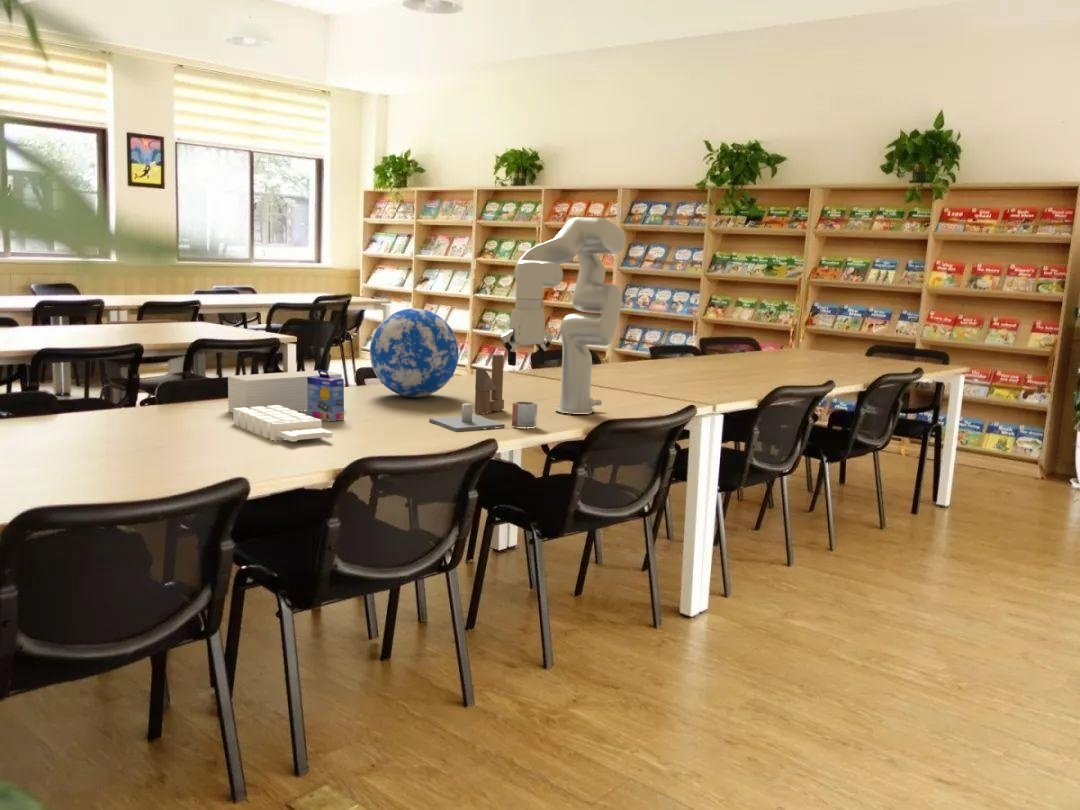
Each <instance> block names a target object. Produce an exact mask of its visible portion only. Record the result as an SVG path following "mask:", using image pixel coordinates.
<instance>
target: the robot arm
mask: <svg viewBox="0 0 1080 810" xmlns="http://www.w3.org/2000/svg"><path fill="white" fill-rule="evenodd" d="M625 245H626V236H625V233H624V231H623V229H622V228H621V227H620V226H619V225H617V224H615V223H614V222H612V221H610V220H608V219H606V218H603V217H596V216H595V217H593V216H591V217H590V216H576V217H572V218H570V219H569V220H568V221H567V222H566V223H565V224H564V225H563V227H562V228H561V229H560V230H559V231H558V233H556V235H555V236H554V238H552V239H550V240H547V241H545V242H543V243H541V244H537V245H536V246H534V247H531V248H530V249H528V250H527V251H526V252H524V254H523V255H522V256H521V257H520V258H519V260H518V261H517V263H516V265H515V267H514V271H513V276H514V280H515V283H516V284H515V286H516V287H515V304H514V305H515V308H514V309H512V311H511V314H510V319H509V324H508V325H509V327H508V331H507V332H505V333H503V334H502V335H500V340H501V342H502V345H503V347H504V348H505V350H506V351H507V366H508V365H509V366H511V367H512V366H514V367H515V366H516V365H517V352H516V349H518V347H519V346H534V345H535V346H536V348H537V350H536V352H535V353H536V354H535V355H536V357H535V363H536V365H540V366H543V365H545V360H546V359H545V356H546V351H547V350H548V348H549V347H550V345H551V343H552V341H553V338H554V336H553V335H552V334H551V333H549V332H548V331H546V325H545V323H546V322H545V321H546V320H545V314H544V310H542V308H543V307H545V306H546V303H545V301H543V289H544V288H550V289H551V288H555V287H557V286H559V285H560V284H561V283H562V280H563V278H564V272H563V269H562V267H561V265H562V264H565V263H568V262H571V261H572V260H573V259H574V258H575V257H576V256H577V260H578V264H579V267H578V273H577V278H576V282H575V287H574V292H573V295H572V307H573V308H574V309H575V310H577V311H580V312H584V313H569V314H567V315H566V316H564V317H563V318H562V320H561V323H560V334H561V336H560V337H561V344H562V345H561V346H562V347H561V348H562V353H561V355H562V358H561V359H562V360H561V361H562V362H561V381H560V399H559V400H560V403H559V405H558V406H555V409H556V410H558V411H561V412H568V413H591V412H594V413H595V409H594V406H601V405H602V404H603V403H602V399H593V398H592V397H591V387H592V368H593V365H592V364H593V359H592V358H593V357H592V353H591V352H590V349H589V348H588V346H599V347H606V346H610V344H612V343H613V341H614V338H615V336H616V331H617V328H618V323H619V320H620V319H619V318H620V314H621V309H622V305H623V292H622V291H621V288H620V287H619V286H618V285H616V284H613V283H604V281H605V276H606V267H605V266H604V263H603V262H602V260H601V259H600V257H599V256H598V254H599V255H600V254H602V255H603V254H604V255H617V254H620V253H621V252H623V250H624V249H625V247H626V246H625ZM587 313H590V314H587ZM591 313H594V314H591ZM597 314H600V315H597ZM555 409H554V410H555Z"/></svg>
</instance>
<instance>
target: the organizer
mask: <svg viewBox="0 0 1080 810" xmlns="http://www.w3.org/2000/svg"><path fill="white" fill-rule="evenodd" d="M232 414H233V420H232V421H233V422H232V423H233V425H235V426H237V427H239V428H241V427H242V428H241V429H243V430H247V431H248V430H249V431H248V432H251V433H254V434H255V433H256V435H258V434H259V435H258V436H261V437H262V436H264V437H263V438H265V437H266V438H265V439H267V438H270V439H271V440H270V439H269V440H270V441H272V440H274V441H273V442H276V441H275V440H284V439H286V440H284V441H289V442H297V441H298V440H299V441H301V440H310V439H312V440H313V439H320V438H325V439H326V438H327V439H332V438H333V431H330V430H327V429H325V428H323V427H322V423H323V422H322V421H323V420H319V419H315V418H314V417H311V416H308V414H305V413H302V412H297V411H294V410H291V409H288V408H284V407H283V406H280V405H272V406H267V408H266V407H263V406H258V407H250V409H249V408H246V407H244V408H233V413H232Z"/></svg>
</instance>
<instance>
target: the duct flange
mask: <svg viewBox="0 0 1080 810" xmlns="http://www.w3.org/2000/svg"><path fill="white" fill-rule="evenodd" d="M473 406H474V405H473V403H462V405H461V415H459V416H449V417H448V416H447V417H446V416H445V417H433V418H432V417H431V418H429V420H428V421H429V423H431V422H432V423H431V424H434V423H435V424H434V425H437V426H439V425H440V427H442V426H443V427H442V428H446V429H448V430H450V429H451V430H450V431H454V432H456V431H457V432H467V430H470V431H477V430H476V429H482V430H485V429H484V428H495V427H506V424H505V423H502V422H499V421H496V420H492V419H490V418H488V417H487V418H486V417H483V416H480V415H477V414H476V415H475V414H473ZM495 429H496V428H495Z"/></svg>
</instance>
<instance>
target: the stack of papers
mask: <svg viewBox="0 0 1080 810" xmlns="http://www.w3.org/2000/svg"><path fill="white" fill-rule="evenodd" d="M326 371H327V372H328V374H329V376H330V377H337V378H343V377H342V374H341V373H337V372H332V371H328V370H326ZM320 373H321V374H326V373H324V372H320ZM317 375H319V373H318V370H317V369H316V370H305V371H302V370H301V371H289V372H288V371H287V372H271V373H270V372H269V373H256V374H238V375H228V376H227V386H228V387H227V389H228V390H227V395H228V396H227V399H228V400H227V401H228V403H227V404H228V412H229V411H230V412H229V413H232V412H233V408H244V407H246V408H249V409H250V407H258V406H263V407H266V408H267V406H272V405H280V406H283V407H284V408H288V409H291V410H294V411H301V410H308V393H307V391H308V390H307V377H309V376H317ZM301 412H302V411H301Z"/></svg>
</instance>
